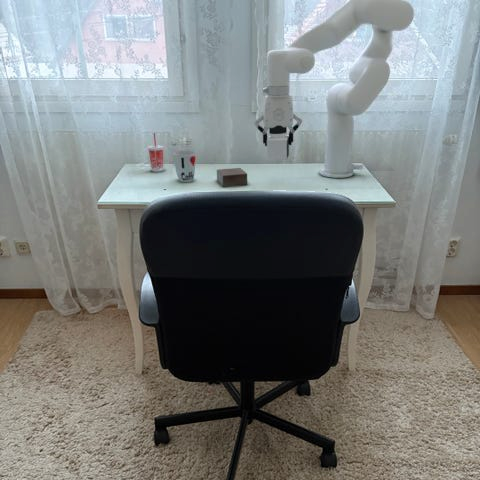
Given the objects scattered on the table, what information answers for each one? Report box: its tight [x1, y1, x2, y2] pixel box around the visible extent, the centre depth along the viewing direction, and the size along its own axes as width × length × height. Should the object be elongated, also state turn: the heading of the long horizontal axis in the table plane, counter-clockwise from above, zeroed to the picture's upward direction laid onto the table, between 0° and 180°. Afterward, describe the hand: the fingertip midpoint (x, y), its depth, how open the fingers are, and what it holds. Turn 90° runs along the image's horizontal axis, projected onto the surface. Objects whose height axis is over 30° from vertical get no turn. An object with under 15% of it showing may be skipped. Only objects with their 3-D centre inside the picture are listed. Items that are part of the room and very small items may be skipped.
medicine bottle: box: [266, 125, 290, 161], centre depth 182 cm, size 7×7×12 cm
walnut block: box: [216, 167, 248, 188], centre depth 187 cm, size 9×9×4 cm
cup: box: [172, 149, 197, 183], centre depth 188 cm, size 8×8×10 cm
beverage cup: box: [147, 132, 164, 173], centre depth 200 cm, size 6×6×14 cm
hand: (278, 144), depth 182 cm, fingers closed on medicine bottle, 8 cm apart
